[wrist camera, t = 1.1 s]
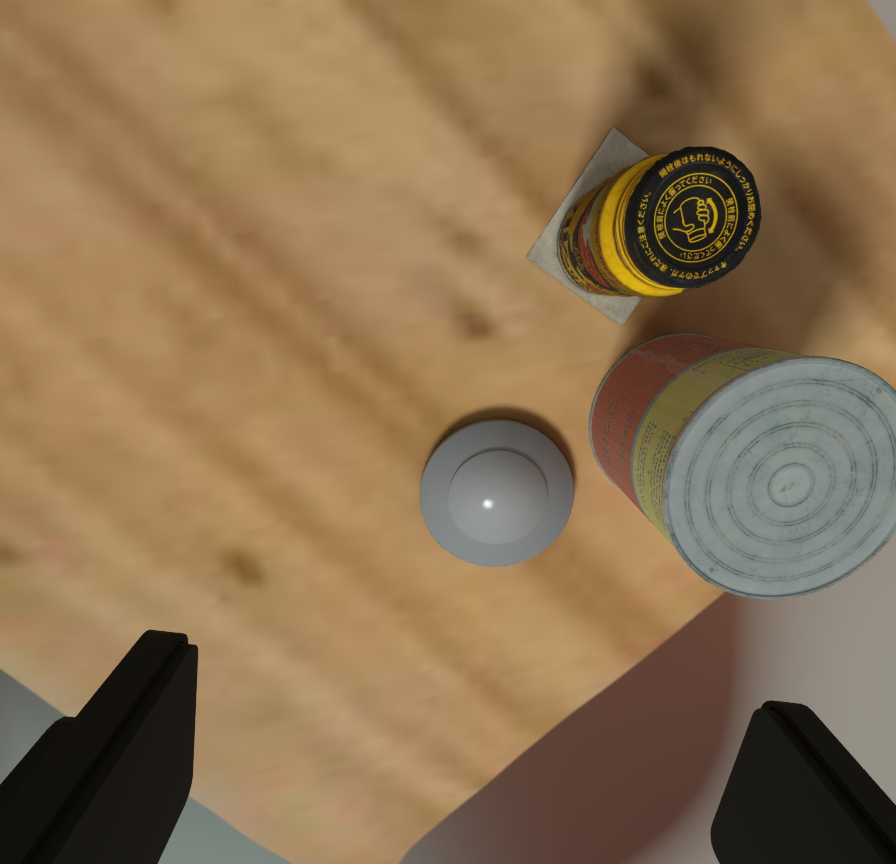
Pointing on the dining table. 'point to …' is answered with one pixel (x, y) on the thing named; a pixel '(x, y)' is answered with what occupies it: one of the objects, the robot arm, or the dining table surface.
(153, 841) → the robot arm
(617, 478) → the canned food
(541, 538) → the saucer
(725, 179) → the condiment
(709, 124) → the dining table surface
